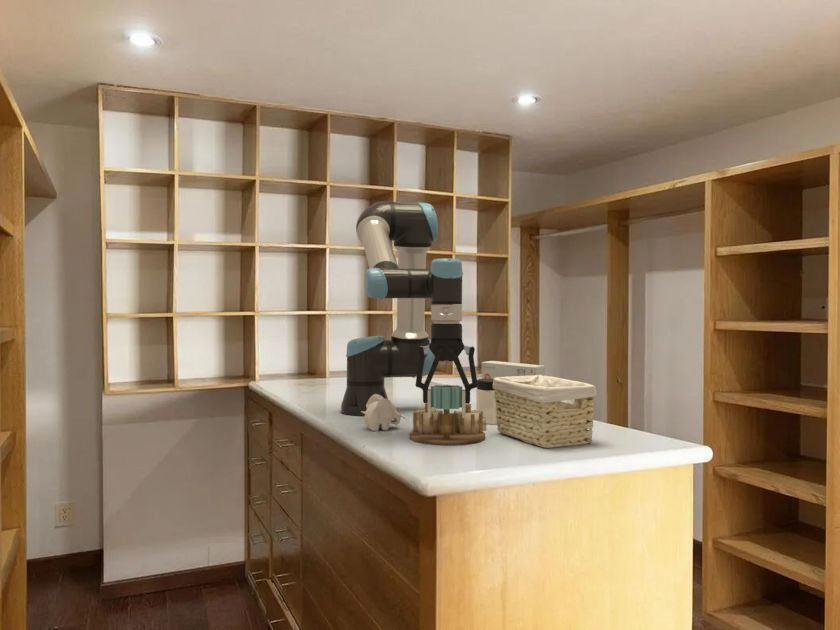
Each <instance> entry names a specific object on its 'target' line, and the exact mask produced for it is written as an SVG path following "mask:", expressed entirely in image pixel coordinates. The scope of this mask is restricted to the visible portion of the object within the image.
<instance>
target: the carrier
mask: <svg viewBox="0 0 840 630" xmlns="http://www.w3.org/2000/svg"><path fill="white" fill-rule="evenodd" d="M450 410H451V409H448V410H444V409H443V411H442V410H439V409H431V418H428V403H424V409H417V410H414V411H412V430H411V431H410V432H409V439H410V440H411V441H413V442H414V443H419V444H425V445H433V446H465V445H472V444H477V443H481V442H483V441H485V440H486V433H485V431H484V430H483V412H482V411H476V409H473V410H472V404H471V403H469V404H465V418H462V409H460V410H453V412H450Z"/></svg>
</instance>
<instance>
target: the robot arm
mask: <svg viewBox="0 0 840 630" xmlns="http://www.w3.org/2000/svg"><path fill="white" fill-rule="evenodd" d="M356 221H357V222H356V224H355V230H356V236H357V238H358V240H359V242H360V243H362V245H363V249H364V253H365V257H366V261H367V264H368V265H367V266H368V268H367V269H366V271H365V274H364V292H365V295H366V296H367V297H368V298H369V299H380V300H383V299H396V328H395V330H394V331H393V332H392V333H391V335H390V339H386V338H385V336H384V335H372V336H364V337H359V338H358V337H357V338H354V339H351V340H349V341H348V342H347V345H346V355H345V357H346V389H345V391H344V395H343V399H342V402H341V404H340V412H341V414H345V415H350V416H365V414H364V413H362V412H361V411H365V412H366V410H367V407H366V404H367V402H368V400H369V399H370V397H371V396H372V395H374V394H378V395H381V396H382V397H383V398H386V399H388V400H389V398H388V397H389V396H388V395H387V392H386V387H385V378H416V380H415V385H414V386H415V387H416V388H419V389H421V390H422V402H423V404H426V403H428V418H431V410H432V407H431V388H429V387H430V384H431V382H432V379H433V377H434V375H435V373H436V371H437V367H438V365H439V363H440V362H445V361H447V362H453V363H454V365H455V367H456V369H457V372H458V375H459V378H460V380H461V382H462V384H463V387H464V389H462V408H461V410H462V418H465V404H471V403H470V402H471V391H472V390H473V389H477V386H478V383H477V380H478V376H477V371H476V365H475V359H474V358H475V356H474V354H475V351H476V349H475V347H474V346H469V345H465V343H464V342H463V325H462V323H461V321H463V275H464V272H463V264H462V260H460V259H459V258H449V257H448V258H446V257H445V258H434V259H432V260H431V263H430V264H431V266H430V268H427V267H426V266H427V253H428V251H430V250H431V249H432V243H434V242H437V240H438V236H439V225H438V223H439V222H438V217H437V213H436V210H435V208H434V206H433V205H432V204H431V203H428V202H419V201H387V200H386V201H385V200H384V201H379V202H375V203H373V204H371V205H370V206H368V207H367V208H365V209H364V210H363V211H362V212H361V213H360V215H359V216H358V219H357V220H356ZM392 241H393V244H392V243H391V242H392ZM392 245H393V246H392ZM393 247H394V249H395V250H396V251H397V253H398V254H397V255H398V256H397V257H398V259H397V257H396V254H395V251H394V249H393ZM425 299H430V301H431V303H430V304H431V306H430V313H431V314H430V321H431V322H433V323H432V324H431V325H430V338H429V333H427V331H426V330H425V307H426V306H425V305H426V304H425V302H426V300H425ZM463 351H465V355H467V358H468V365H469V372H470V378H471V383H469V379H468V378H467V376H466V373H465V370H464V368H463V365H462V363H461V360H460V358H459V356H460V355H461V353H462V352H463ZM425 376H427V377H426V379H425V381H424V382H422V381H423V377H425Z"/></svg>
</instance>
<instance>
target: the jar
mask: <svg viewBox="0 0 840 630" xmlns="http://www.w3.org/2000/svg"><path fill="white" fill-rule="evenodd" d="M493 379H494V378H485V379H482V378H477V383H478V386H477V387H476V407H475V408H476V409H475V410H476V411H482V412H483V417H486V425H497V418H496V404H495V402H496V400H495V397H494V389H493Z"/></svg>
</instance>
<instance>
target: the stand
mask: <svg viewBox="0 0 840 630" xmlns="http://www.w3.org/2000/svg"><path fill="white" fill-rule="evenodd" d="M486 430H487V424H486V417H483V431H486Z"/></svg>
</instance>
